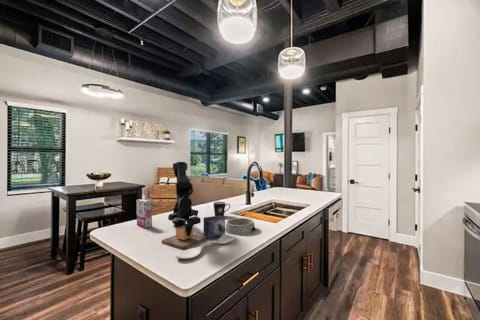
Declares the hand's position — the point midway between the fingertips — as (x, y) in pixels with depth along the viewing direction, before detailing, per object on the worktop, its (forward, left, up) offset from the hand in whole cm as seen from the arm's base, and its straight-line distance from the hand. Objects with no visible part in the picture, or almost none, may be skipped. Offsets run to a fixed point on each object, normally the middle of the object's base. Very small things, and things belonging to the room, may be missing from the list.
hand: (184, 235), depth 121 cm
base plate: (0, 0, -3) cm, 3 cm away
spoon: (+1, +17, -4) cm, 17 cm away
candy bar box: (-4, -42, -4) cm, 42 cm away
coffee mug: (-48, -15, -4) cm, 51 cm away
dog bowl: (-31, +13, -4) cm, 34 cm away
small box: (-14, +8, -4) cm, 17 cm away
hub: (0, 0, -1) cm, 1 cm away
